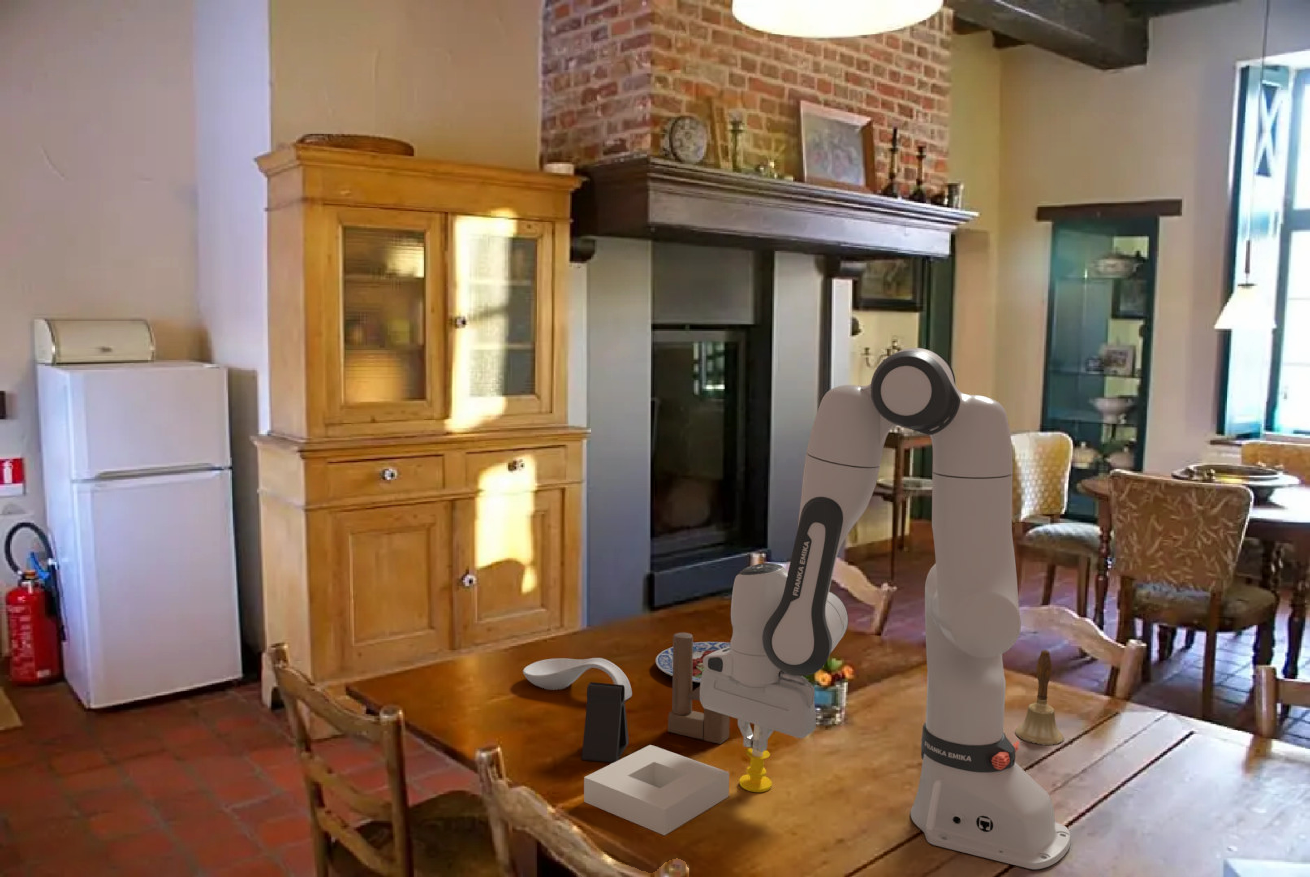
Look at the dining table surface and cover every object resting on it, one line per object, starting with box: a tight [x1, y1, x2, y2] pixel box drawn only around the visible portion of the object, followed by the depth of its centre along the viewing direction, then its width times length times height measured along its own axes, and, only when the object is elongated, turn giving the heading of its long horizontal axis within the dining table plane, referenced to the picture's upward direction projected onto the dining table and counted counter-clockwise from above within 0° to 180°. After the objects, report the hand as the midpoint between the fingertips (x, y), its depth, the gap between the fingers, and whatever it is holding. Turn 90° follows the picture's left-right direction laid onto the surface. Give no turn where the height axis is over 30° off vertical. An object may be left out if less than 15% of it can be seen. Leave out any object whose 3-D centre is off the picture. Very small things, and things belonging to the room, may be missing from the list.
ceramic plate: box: [655, 641, 730, 683], centre depth 220 cm, size 26×26×3 cm
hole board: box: [583, 744, 730, 836], centre depth 160 cm, size 16×16×4 cm
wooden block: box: [667, 632, 730, 745], centre depth 184 cm, size 4×11×18 cm, turn 61°
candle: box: [738, 724, 773, 793], centre depth 164 cm, size 5×5×16 cm
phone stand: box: [581, 681, 630, 764], centre depth 177 cm, size 9×6×12 cm, turn 167°
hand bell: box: [1014, 649, 1065, 746], centre depth 186 cm, size 8×8×16 cm
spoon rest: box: [522, 657, 633, 701], centre depth 207 cm, size 24×12×7 cm, turn 61°
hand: (755, 748), depth 165 cm, fingers closed on candle
